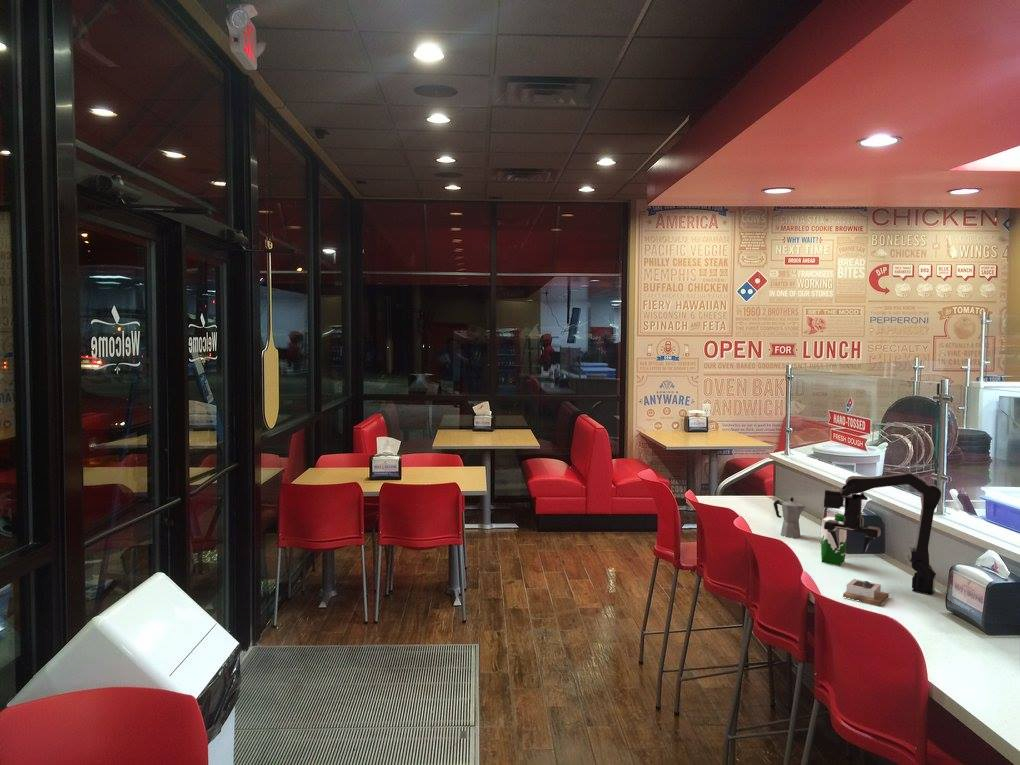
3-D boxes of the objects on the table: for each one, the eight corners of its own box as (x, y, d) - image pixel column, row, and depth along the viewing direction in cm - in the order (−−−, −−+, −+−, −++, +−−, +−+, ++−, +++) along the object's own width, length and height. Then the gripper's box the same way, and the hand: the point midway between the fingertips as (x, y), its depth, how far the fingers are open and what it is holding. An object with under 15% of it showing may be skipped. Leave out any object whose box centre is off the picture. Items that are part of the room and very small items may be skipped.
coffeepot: (808, 536, 339) (810, 498, 338) (799, 540, 333) (801, 501, 332) (777, 530, 350) (778, 493, 349) (767, 533, 344) (769, 495, 343)
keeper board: (888, 597, 259) (889, 580, 259) (879, 606, 250) (880, 589, 250) (852, 589, 267) (853, 573, 266) (843, 597, 258) (843, 581, 257)
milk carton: (841, 566, 294) (843, 518, 293) (818, 562, 299) (820, 514, 298) (847, 562, 300) (849, 514, 299) (824, 557, 306) (826, 510, 305)
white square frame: (880, 592, 259) (880, 584, 259) (873, 599, 252) (874, 590, 252) (853, 586, 265) (853, 578, 265) (846, 593, 258) (846, 584, 258)
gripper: (885, 510, 274) (883, 551, 275) (832, 502, 286) (831, 541, 286) (878, 515, 265) (876, 557, 266) (824, 507, 277) (822, 547, 278)
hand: (851, 550), depth 274 cm, fingers open, 9 cm apart
